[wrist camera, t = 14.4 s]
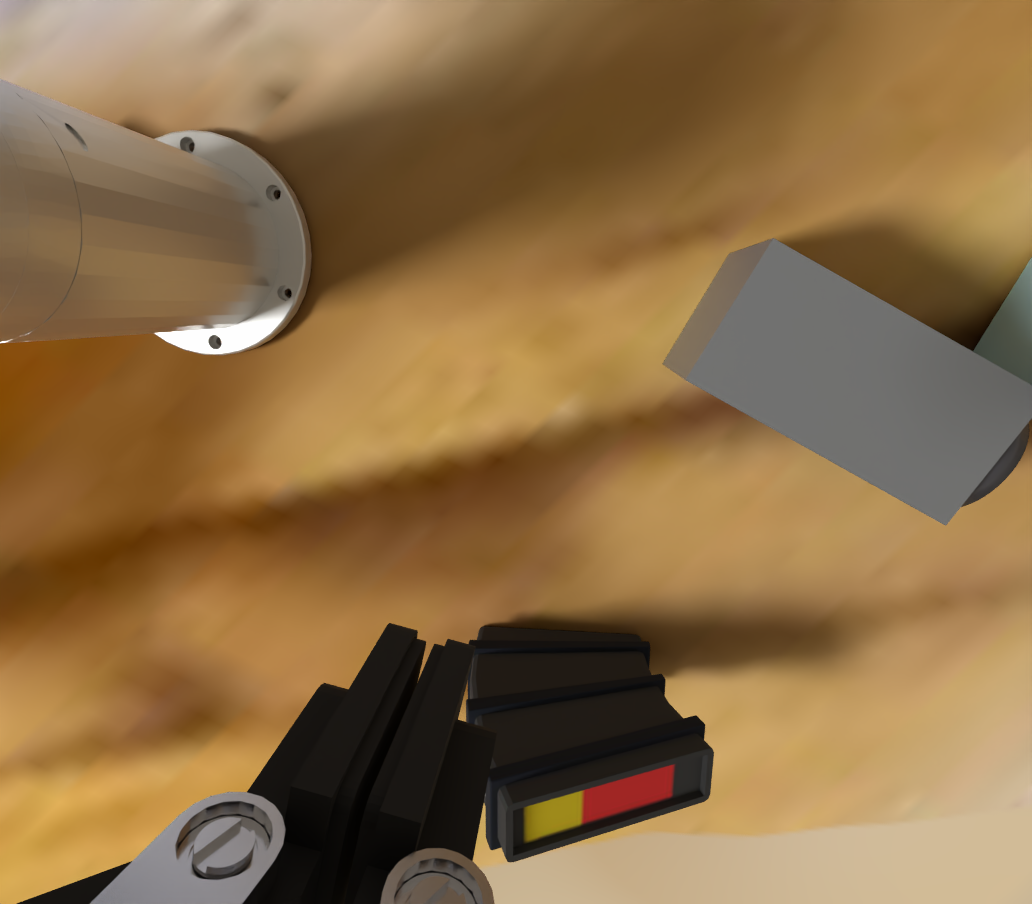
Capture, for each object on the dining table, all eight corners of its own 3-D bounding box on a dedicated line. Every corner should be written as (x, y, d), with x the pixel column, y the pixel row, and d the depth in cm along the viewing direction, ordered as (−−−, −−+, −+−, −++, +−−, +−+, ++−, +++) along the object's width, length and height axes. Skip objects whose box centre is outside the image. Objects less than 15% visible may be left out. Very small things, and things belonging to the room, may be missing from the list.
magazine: (426, 629, 40) (498, 801, 26) (606, 598, 44) (750, 731, 30) (427, 680, 40) (498, 872, 27) (604, 644, 45) (743, 794, 31)
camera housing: (662, 363, 36) (685, 379, 28) (730, 251, 34) (775, 235, 26) (884, 488, 36) (967, 538, 28) (963, 383, 34) (1075, 405, 27)
